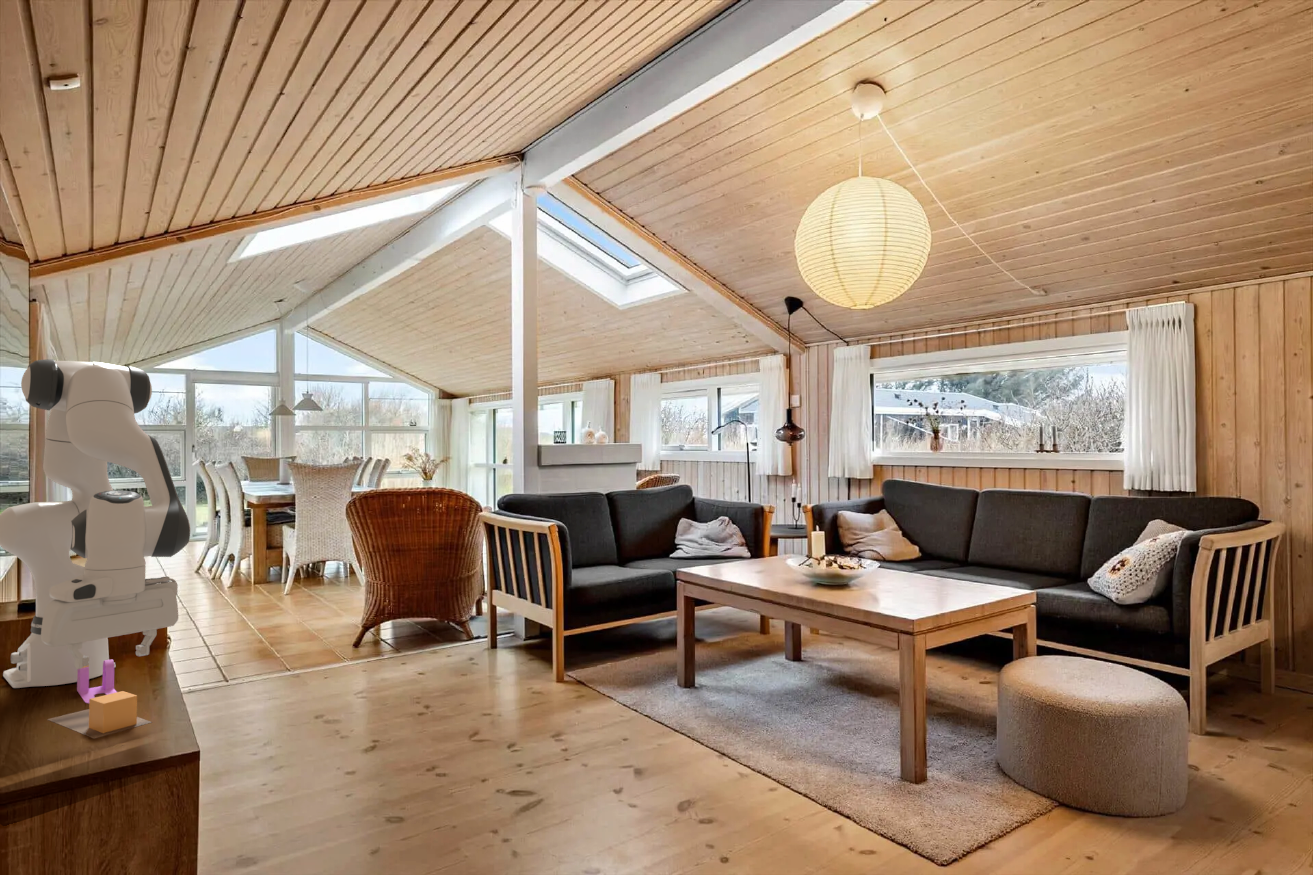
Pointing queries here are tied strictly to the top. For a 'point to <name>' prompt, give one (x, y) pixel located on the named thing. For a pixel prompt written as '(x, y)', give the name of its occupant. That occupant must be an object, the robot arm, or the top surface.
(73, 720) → the peg board
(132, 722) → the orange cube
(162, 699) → the top surface
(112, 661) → the bracket
